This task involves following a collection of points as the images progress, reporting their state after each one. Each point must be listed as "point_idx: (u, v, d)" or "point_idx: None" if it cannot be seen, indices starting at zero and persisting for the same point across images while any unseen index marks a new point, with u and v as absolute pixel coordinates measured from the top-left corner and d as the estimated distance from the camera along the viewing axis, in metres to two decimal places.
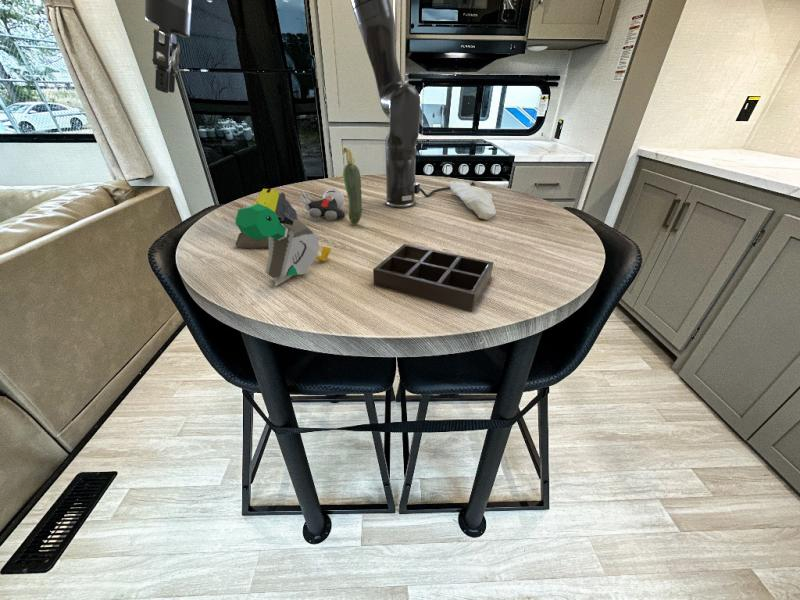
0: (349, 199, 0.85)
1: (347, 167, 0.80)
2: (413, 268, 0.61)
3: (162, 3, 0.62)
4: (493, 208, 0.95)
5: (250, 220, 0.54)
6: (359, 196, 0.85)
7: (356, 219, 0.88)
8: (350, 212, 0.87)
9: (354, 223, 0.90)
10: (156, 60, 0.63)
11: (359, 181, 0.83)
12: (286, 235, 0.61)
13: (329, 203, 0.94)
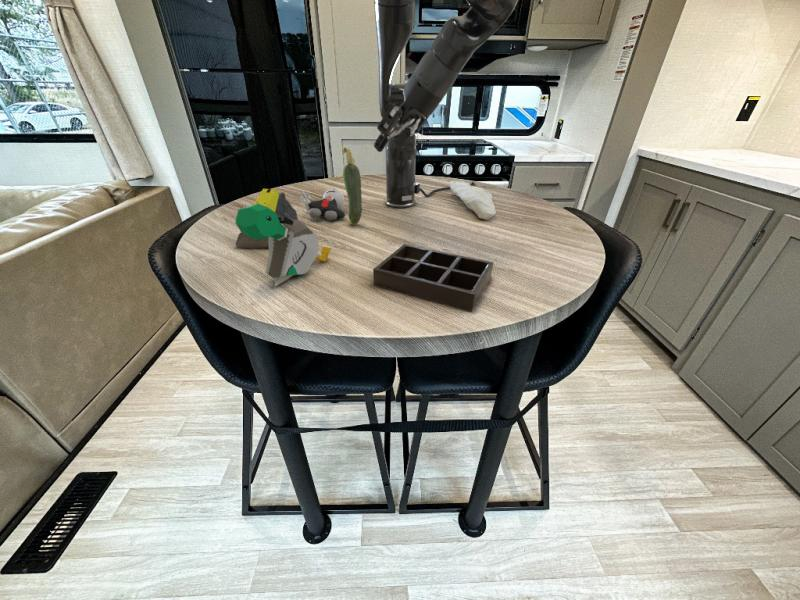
0: (349, 199, 0.85)
1: (347, 167, 0.80)
2: (413, 268, 0.61)
3: None
4: (493, 208, 0.95)
5: (250, 220, 0.54)
6: (359, 196, 0.85)
7: (356, 219, 0.88)
8: (350, 212, 0.87)
9: (354, 223, 0.90)
10: None
11: (359, 181, 0.83)
12: (286, 235, 0.61)
13: (329, 203, 0.94)
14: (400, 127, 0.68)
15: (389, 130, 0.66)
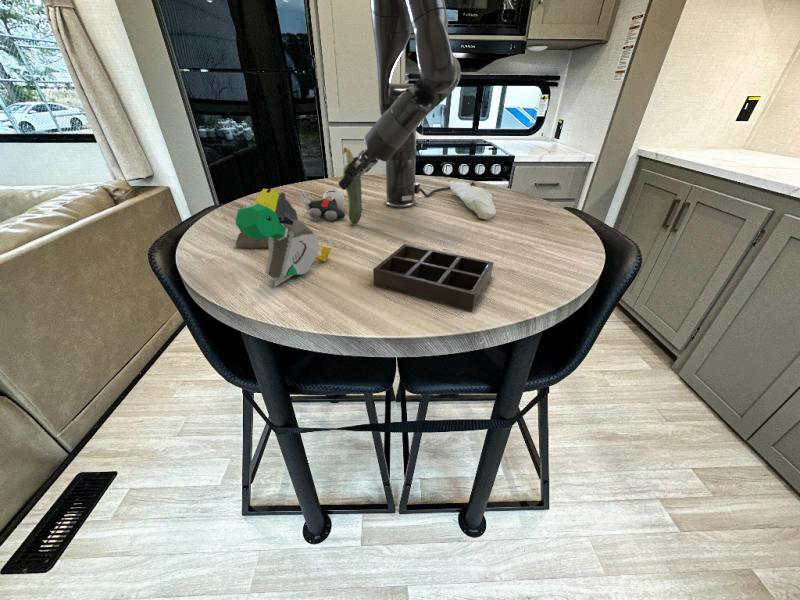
0: (349, 199, 0.85)
1: (347, 167, 0.80)
2: (413, 268, 0.61)
3: None
4: (493, 208, 0.95)
5: (250, 220, 0.54)
6: (359, 196, 0.85)
7: (356, 219, 0.88)
8: (350, 212, 0.87)
9: (354, 223, 0.90)
10: None
11: (359, 181, 0.83)
12: (286, 235, 0.61)
13: (329, 203, 0.94)
14: (362, 171, 0.79)
15: (354, 176, 0.77)
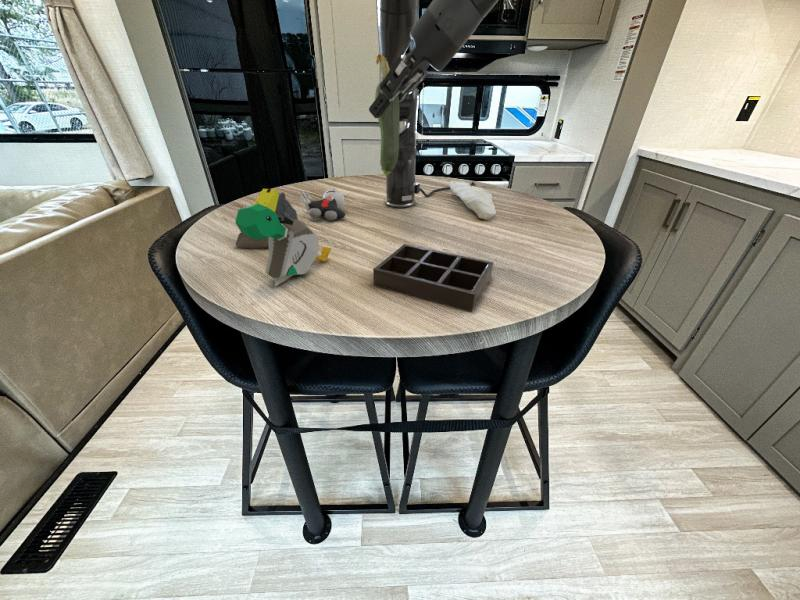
0: (382, 135, 0.61)
1: None
2: (413, 268, 0.61)
3: None
4: (493, 208, 0.95)
5: (250, 220, 0.54)
6: (397, 130, 0.61)
7: (391, 165, 0.64)
8: (383, 154, 0.63)
9: (387, 172, 0.66)
10: None
11: (398, 106, 0.59)
12: (286, 235, 0.61)
13: (329, 203, 0.94)
14: (405, 87, 0.55)
15: (395, 91, 0.53)
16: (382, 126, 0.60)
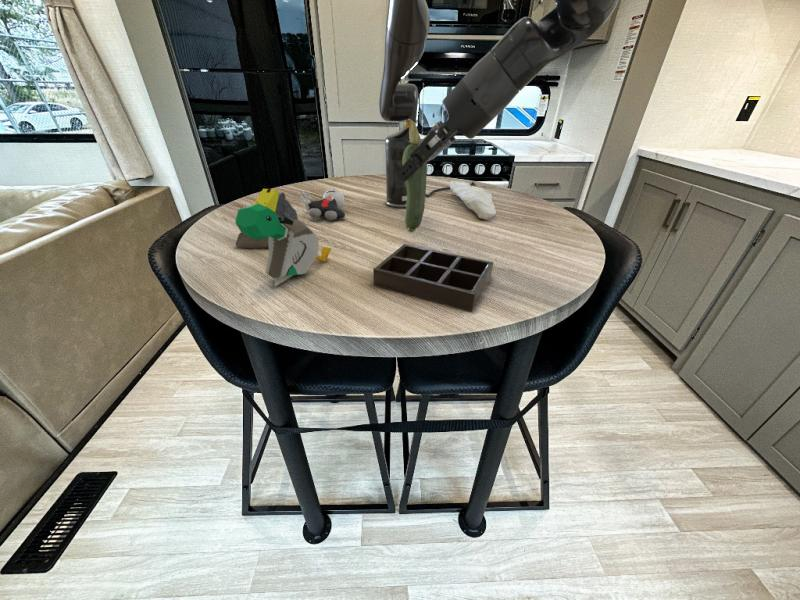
0: (408, 196, 0.60)
1: (411, 148, 0.55)
2: (413, 268, 0.61)
3: None
4: (493, 208, 0.95)
5: (250, 220, 0.54)
6: (424, 191, 0.59)
7: (416, 224, 0.63)
8: (408, 214, 0.62)
9: (412, 229, 0.64)
10: None
11: (426, 169, 0.57)
12: (286, 235, 0.61)
13: (329, 203, 0.94)
14: (435, 154, 0.53)
15: (426, 161, 0.52)
16: (409, 188, 0.59)
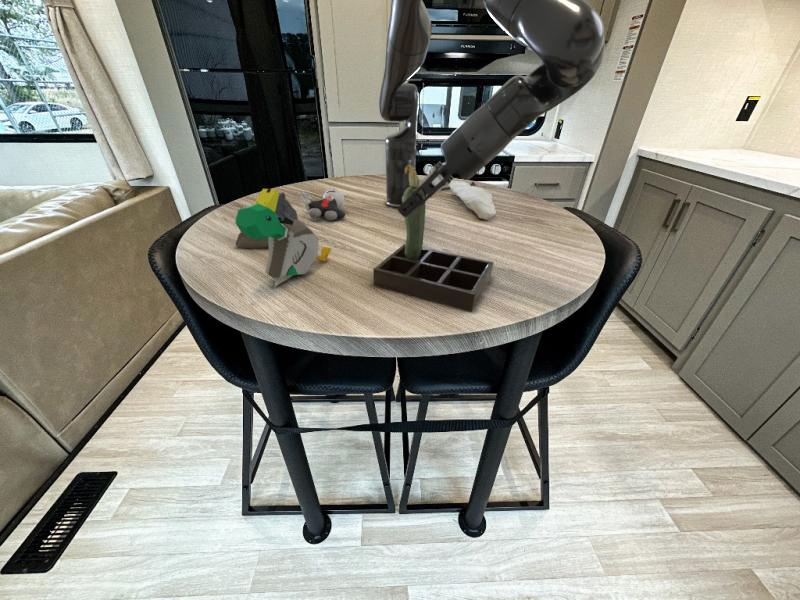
0: (408, 233, 0.64)
1: (410, 191, 0.59)
2: (413, 268, 0.61)
3: None
4: (493, 208, 0.95)
5: (250, 220, 0.54)
6: (422, 229, 0.63)
7: (415, 258, 0.67)
8: (408, 249, 0.65)
9: None
10: None
11: (424, 209, 0.61)
12: (286, 235, 0.61)
13: (329, 203, 0.94)
14: (435, 192, 0.55)
15: (427, 199, 0.53)
16: (408, 226, 0.62)
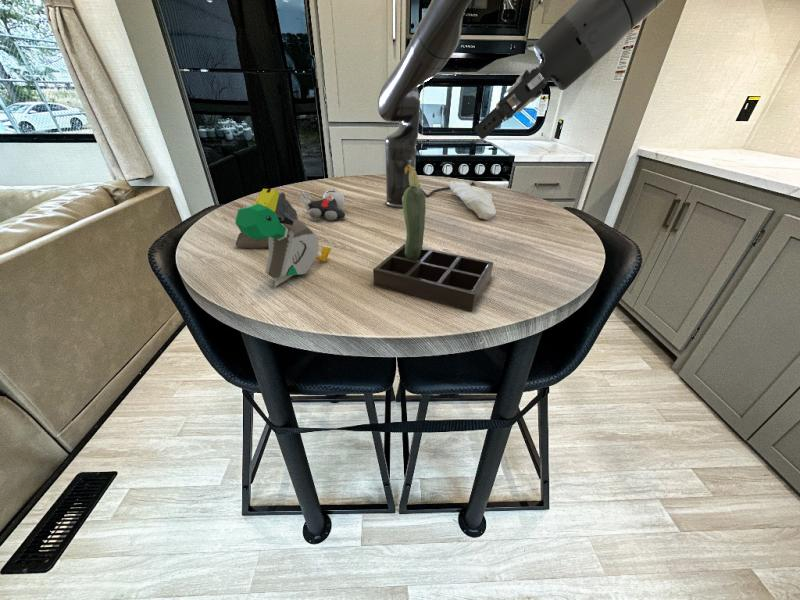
0: (408, 233, 0.64)
1: (410, 191, 0.59)
2: (413, 268, 0.61)
3: None
4: (493, 208, 0.95)
5: (250, 220, 0.54)
6: (422, 229, 0.63)
7: (415, 258, 0.67)
8: (408, 249, 0.65)
9: None
10: None
11: (424, 209, 0.61)
12: (286, 235, 0.61)
13: (329, 203, 0.94)
14: (525, 105, 0.46)
15: (518, 109, 0.44)
16: (408, 226, 0.62)
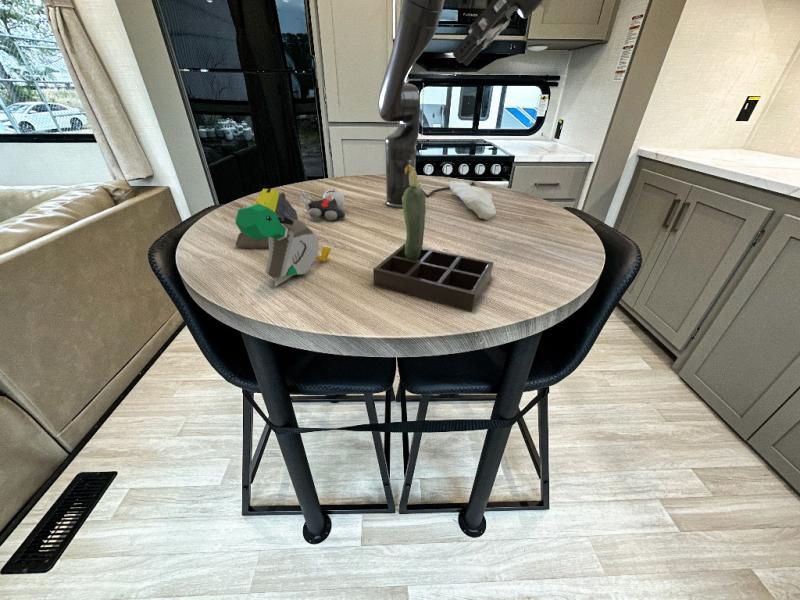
0: (408, 233, 0.64)
1: (410, 191, 0.59)
2: (413, 268, 0.61)
3: None
4: (493, 208, 0.95)
5: (250, 220, 0.54)
6: (422, 229, 0.63)
7: (415, 258, 0.67)
8: (408, 249, 0.65)
9: None
10: None
11: (424, 209, 0.61)
12: (286, 235, 0.61)
13: (329, 203, 0.94)
14: (493, 30, 0.55)
15: (487, 30, 0.53)
16: (408, 226, 0.62)
